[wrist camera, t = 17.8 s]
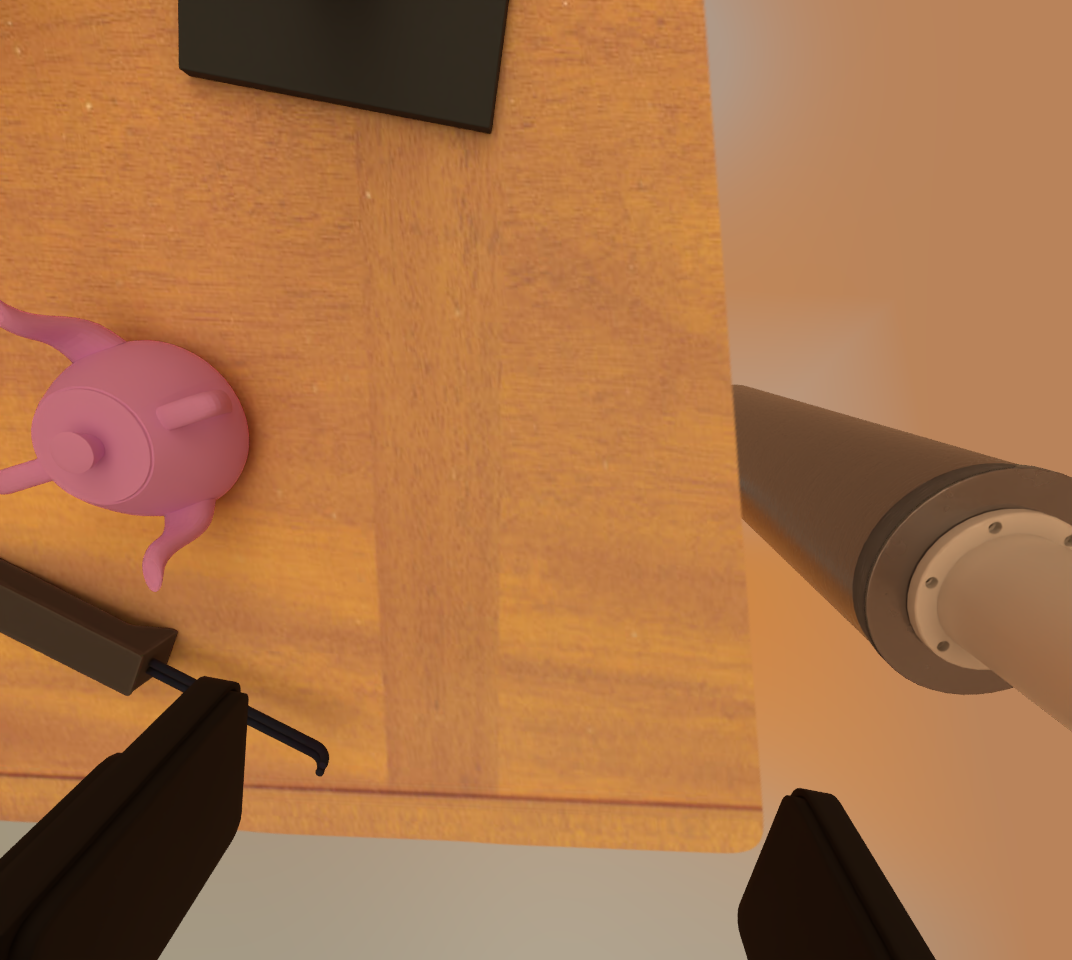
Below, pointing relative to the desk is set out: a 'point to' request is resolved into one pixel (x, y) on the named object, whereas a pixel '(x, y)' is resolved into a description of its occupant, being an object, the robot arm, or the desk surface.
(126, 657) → the hook tool
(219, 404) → the teapot
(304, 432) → the desk surface
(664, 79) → the desk surface
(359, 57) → the mat
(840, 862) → the robot arm
